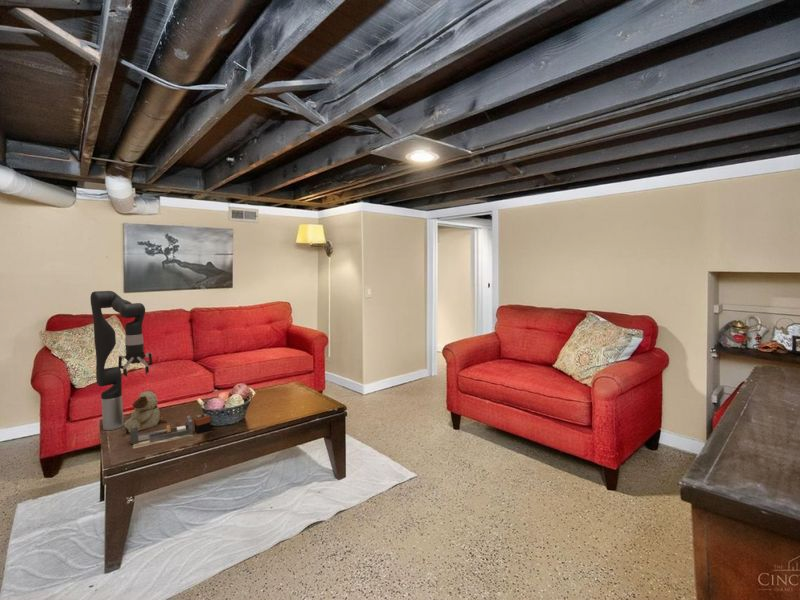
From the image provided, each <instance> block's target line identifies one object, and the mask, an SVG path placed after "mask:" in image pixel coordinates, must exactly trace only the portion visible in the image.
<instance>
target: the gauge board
mask: <svg viewBox="0 0 800 600" xmlns="http://www.w3.org/2000/svg"><path fill="white" fill-rule="evenodd" d="M180 426H181V425H179V426H174V427H170V430H171V433H169V434H164V435H159V436H154V437H150V438H147V439H142V440H138V442H137V443H132V449H137V448H141V447H142V448H143V447H147V446H150V445H156V444H161V443H166V442H171V441H175V440H180V439H184V438H189V437H194V432H193V431H194V429H193V419H192V417H191V415H187V416H186V424H185V425H183V426H185V427H186V430H184V431H179V432H177V427H180ZM165 429H166V428H164V429H162V430H165ZM160 430H161V429H158V430H157V431H160ZM154 431H155V430H153V431H152V432H154Z"/></svg>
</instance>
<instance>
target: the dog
mask: <svg viewBox="0 0 800 600" xmlns="http://www.w3.org/2000/svg"><path fill="white" fill-rule="evenodd" d="M158 403H159V401H158V398H157V395H156V394H155V391H153V390H144V391H143V392H140V394H139V396H138V398H137V400H135V401H134V402H133V403H132V407H133V409H134V410H133V411H132V412H131V415H130V418H128V419H127V420H126V421H125V422H124V425H123V427H124V430H125V431H126V432H127V433H129V434H130V428H135V427H138V432H139V431H142V430H147V429H150V428H153V427H155V426H158V425H163V424H167V423H168V419H167V418H163V419H161V417H160V416H161V412H160V407H159V406H158Z"/></svg>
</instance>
